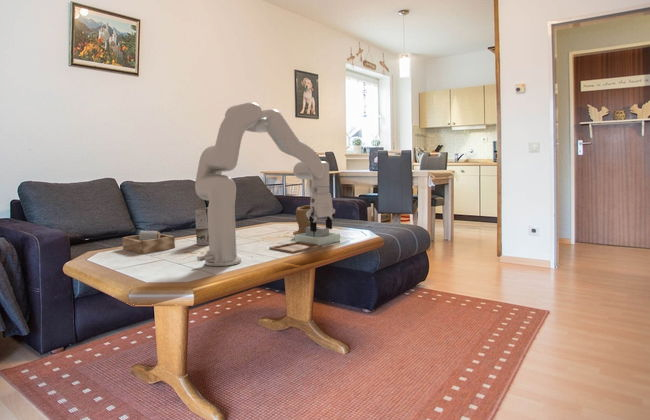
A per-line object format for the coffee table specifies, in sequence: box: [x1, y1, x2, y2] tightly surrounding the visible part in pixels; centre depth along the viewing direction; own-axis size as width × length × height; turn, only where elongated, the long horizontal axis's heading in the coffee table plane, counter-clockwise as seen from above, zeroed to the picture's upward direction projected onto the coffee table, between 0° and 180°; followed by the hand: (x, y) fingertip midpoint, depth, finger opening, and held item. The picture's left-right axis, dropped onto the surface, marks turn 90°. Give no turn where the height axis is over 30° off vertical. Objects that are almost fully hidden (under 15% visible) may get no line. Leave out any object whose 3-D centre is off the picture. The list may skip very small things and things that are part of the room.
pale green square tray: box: [294, 232, 341, 246], centre depth 192 cm, size 14×14×4 cm
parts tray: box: [268, 241, 323, 254], centre depth 179 cm, size 16×14×2 cm
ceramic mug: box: [138, 230, 161, 241], centre depth 192 cm, size 11×8×8 cm
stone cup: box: [292, 204, 314, 236], centre depth 212 cm, size 15×12×15 cm
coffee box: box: [194, 206, 209, 246], centre depth 197 cm, size 9×6×16 cm
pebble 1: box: [315, 226, 330, 238], centre depth 190 cm, size 4×4×6 cm
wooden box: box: [121, 233, 176, 255], centre depth 189 cm, size 15×17×5 cm
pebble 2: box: [306, 226, 321, 237], centre depth 194 cm, size 4×4×6 cm
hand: (321, 230), depth 190 cm, fingers open, 9 cm apart
